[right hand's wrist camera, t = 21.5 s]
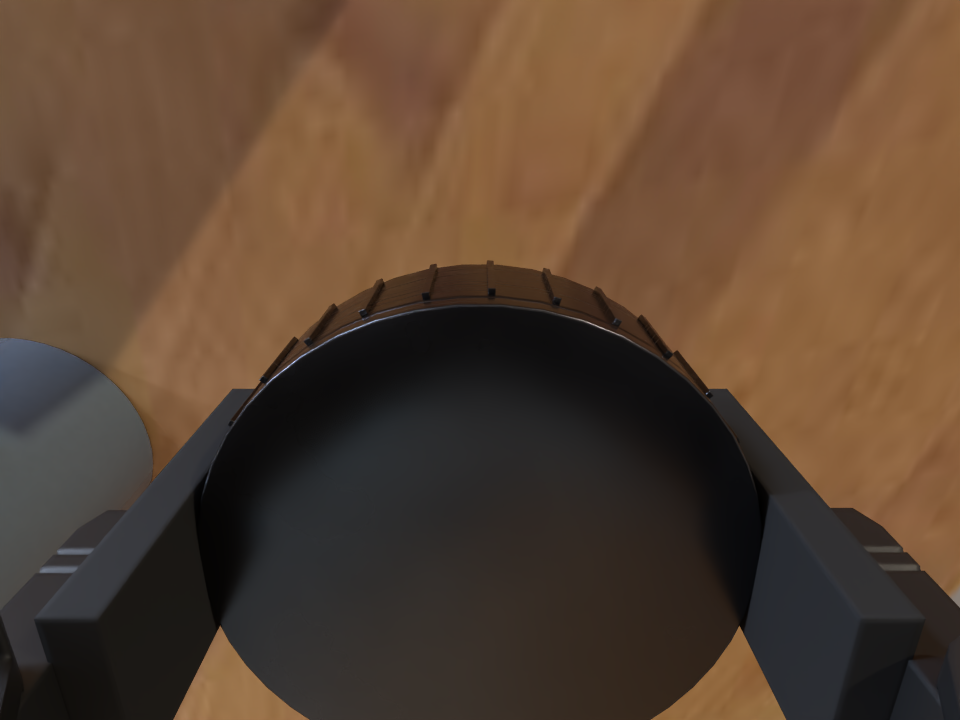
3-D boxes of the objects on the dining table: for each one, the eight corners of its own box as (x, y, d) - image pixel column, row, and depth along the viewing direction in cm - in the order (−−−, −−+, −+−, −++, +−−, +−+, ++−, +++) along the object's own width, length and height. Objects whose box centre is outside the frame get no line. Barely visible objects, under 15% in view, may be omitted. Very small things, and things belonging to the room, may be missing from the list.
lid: (426, 723, 15) (417, 833, 13) (144, 432, 12) (67, 506, 10) (792, 543, 13) (856, 633, 11) (557, 148, 10) (578, 161, 8)
